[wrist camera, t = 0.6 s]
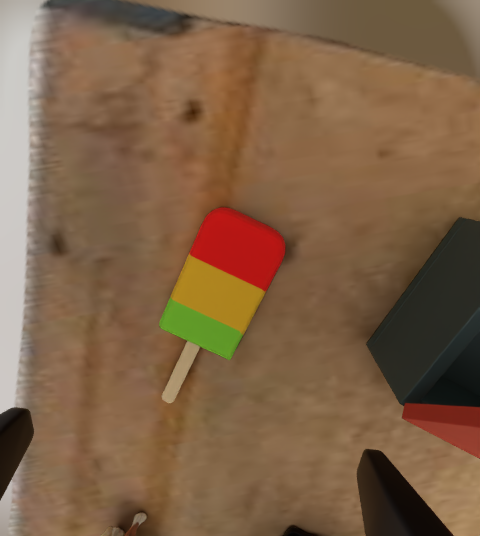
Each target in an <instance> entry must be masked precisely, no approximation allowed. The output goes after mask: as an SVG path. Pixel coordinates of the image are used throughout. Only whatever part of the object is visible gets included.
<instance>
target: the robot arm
mask: <svg viewBox="0 0 480 536" xmlns="http://www.w3.org/2000/svg"><path fill="white" fill-rule="evenodd" d="M33 434H34V428H33V424H32V419H31V414H30V411H29V410H28V409H25V408H16V407H14V408H11V409H8V410H7V411H5V412H3V413H2V414H0V500H1V498H2V496H3V494H4V492H5V491H6V489H7V486H8V485H9V483H10V481H11V479H12V477H13V475H14V473H15V471H16V470H17V468H18V466H19V464H20V462H21V460H22V458H23V456H24V454H25V452H26V450H27V448H28V446H29V444H30V443H31V440H32V438H33ZM357 482H358V489H359V495H360V502H361V508H362V515H363V521H364V528H365V534H366V536H454V535H453V534H452V533H451V532H450V531H449V530H448V528H447V527H446V526H445V525H444V524H443V523H442V521H441V520H440V519H439V518H438V517H437V516H436V514H435V513H434V512H433V511H432V510H431V508H430V507H429V506H428V505H427V504H426V503H425V501H424V500H423V499H422V498H421V497H420V496H419V494H418V493H417V492H416V491H415V490H414V489H413V487H412V486H411V485H410V484H409V483H408V482H407V480H406V479H405V478H404V477H403V476H402V474H401V473H400V472H399V471H398V470H397V469H396V467H395V466H394V465H393V464H392V463H391V462H390V460H389V459H388V458H387V457H386V456H385V455H384V453H382V452H381V451H379V450H372V449H365V450H364V452H363V454H362V457H361V460H360V463H359V466H358V469H357ZM283 536H312V535H310V534H308V533H306V532H303V531H301V530H299V529H297V528H295V527H292V528H289V529H288V530H287V532H286V533H285V534H284V535H283Z"/></svg>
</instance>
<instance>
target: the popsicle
mask: <svg viewBox="0 0 480 536" xmlns="http://www.w3.org/2000/svg"><path fill="white" fill-rule="evenodd" d="M284 255H285V242H284V239H283V237H282V236H281V235H280V234H279V232H278V231H276V230H274V229H273V228H271V227H269V226H267V225H265V224H263V223H261V222H259V221H257V220H255V219H253V218H251V217H248V216H246V215H244V214H242V213H240V212H238V211H236V210H233V209H230V208H224V207H220V208H217V209H214V210H212V211H211V212H210V213H209V214H208V215H207V216H206V218H205V219H204V221H203V223H202V225H201V227H200V230H199V232H198V234H197V237H196V239H195V241H194V244H193V246H192V248H191V250H190V253H189V255H188V257H187V260H186V262H185V264H184V267H183V269H182V271H181V274H180V276H179V278H178V281H177V283H176V285H175V288H174V290H173V292H172V294H171V297H170V299H169V301H168V304H167V306H166V308H165V311H164V313H163V315H162V318H161V320H160V323H159V325H160V328H161V329H163V330H165V331H167V332H169V333H172V334H174V335H176V336H178V337H180V338H182V339H185V340H187V343H186V345H185V347H184V350H183V352H182V354H181V356H180V358H179V360H178V362H177V364H176V367H175V369H174V371H173V373H172V375H171V377H170V379H169V382H168V384H167V386H166V388H165V390H164V392H163V394H162V399H163V400H164V401H165V402H168V403H172V402H173V401H174V400H175V398H176V395H177V393H178V391H179V389H180V387H181V385H182V383H183V381H184V379H185V377H186V375H187V373H188V371H189V369H190V367H191V365H192V363H193V360H194V358H195V356H196V354H197V352H198V350H199V348H200V347H202V348H204V349H206V350H208V351H211V352H213V353H215V354H217V355H219V356H222V357H224V358H226V359H228V360H230V359H231V358H232V356H233V354H234V352H235V350H236V348H237V346H238V344H239V342H240V340H241V338H242V337H243V335H244V333H245V331H246V329H247V327H248V325H249V323H250V321H251V319H252V318H253V316H254V314H255V312H256V310H257V308H258V306H259V304H260V302H261V300H262V298H263V297H264V295H265V293H266V291H267V289H268V287H269V285H270V283H271V281H272V279H273V278H274V276H275V274H276V272H277V270H278V268H279V266H280V264H281V262H282V260H283V257H284Z"/></svg>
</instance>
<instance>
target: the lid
mask: <svg viewBox="0 0 480 536" xmlns="http://www.w3.org/2000/svg"><path fill="white" fill-rule="evenodd" d="M402 418H403V419H404V420H406V421H408V422H410V423H412V424H414V425H416V426H418V427H420V428H422V429H424V430H425V431H427V432H429V433H431V434H433V435H435V436H437V437H439V438H441V439H443V440H445V441H447V442H449V443H450V444H452V445H454V446H456V447H458V448H460V449H462V450H464V451H466V452H468V453H470V454H472V455H474V456H475V457H477V458H479V459H480V407H468V406H450V405H433V404H415V403H405V405H404V410H403V415H402Z"/></svg>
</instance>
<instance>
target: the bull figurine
mask: <svg viewBox="0 0 480 536" xmlns="http://www.w3.org/2000/svg"><path fill="white" fill-rule="evenodd" d="M146 519H147V515H146V514H145V513H138V514H136V515H135V516H134V520H133V524H132V526H131V528H130V529H129V530H128V531H127V532H126V533H124V531H123V530H121V529H120V528H119V527H118V528H115V527H114V528H112V526H110V527H108V528H107V529H106V531H105V532H104V533H103V534H102V535H101V536H135V535H136V530H137V528H138V527H139V525H140V524H141V523H142V522H144V521H145V520H146ZM124 534H125V535H124Z"/></svg>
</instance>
